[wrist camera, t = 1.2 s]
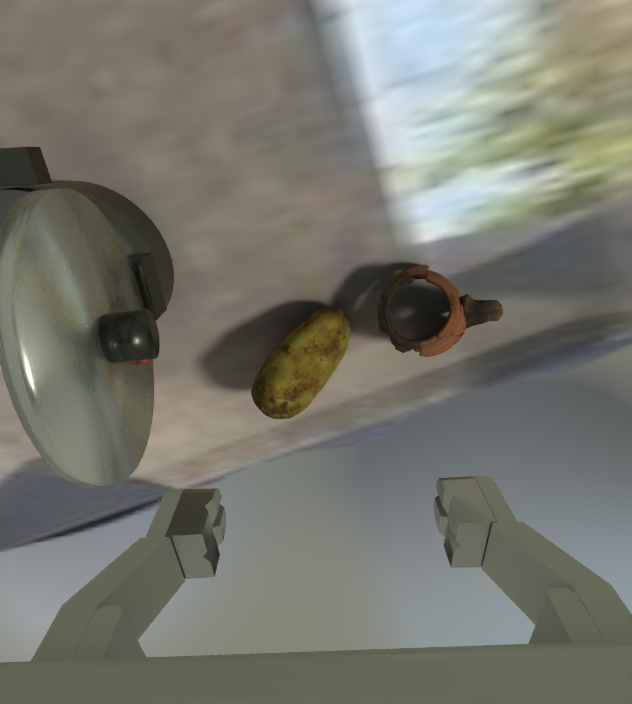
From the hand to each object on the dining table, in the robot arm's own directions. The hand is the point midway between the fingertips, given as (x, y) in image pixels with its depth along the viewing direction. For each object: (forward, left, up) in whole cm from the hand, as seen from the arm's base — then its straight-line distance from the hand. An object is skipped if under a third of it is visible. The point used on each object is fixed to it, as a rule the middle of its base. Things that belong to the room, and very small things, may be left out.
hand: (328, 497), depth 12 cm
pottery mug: (+6, +12, -32) cm, 34 cm away
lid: (0, -14, -13) cm, 18 cm away
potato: (+11, -2, -32) cm, 33 cm away
